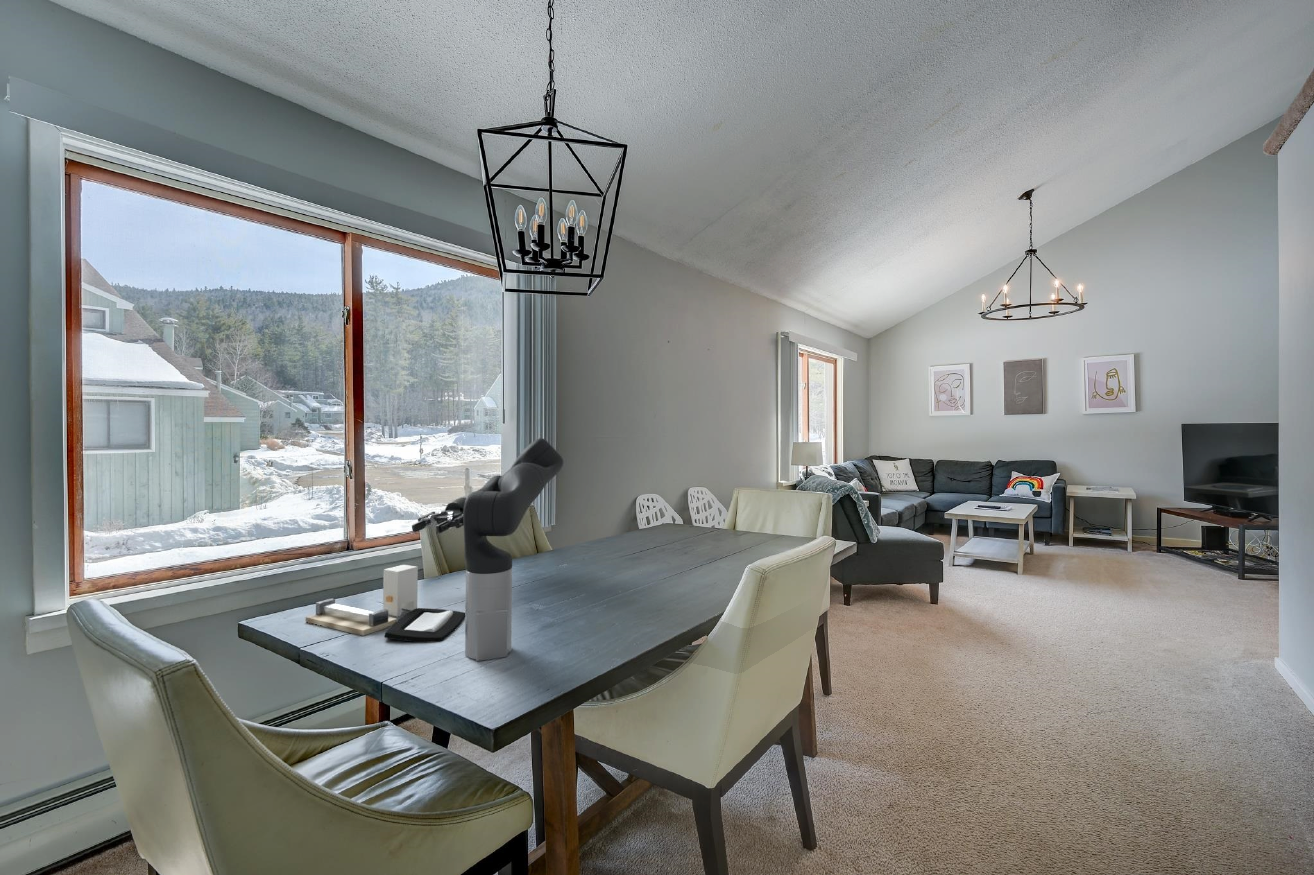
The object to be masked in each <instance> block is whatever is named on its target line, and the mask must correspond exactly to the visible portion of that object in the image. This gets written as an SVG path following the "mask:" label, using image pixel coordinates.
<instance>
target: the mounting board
mask: <svg viewBox="0 0 1314 875" xmlns="http://www.w3.org/2000/svg"><path fill="white" fill-rule="evenodd" d="M397 620H398V618H395V617H390V616H388V622H386V623H383V624H380V625H377V626H374V627H371V626H369V624H365V623H360V622H356V621H351V620H347V619H342V618H337V617H333V616H328V615H324V614H322V615H317V614H316V613H315V614H312V615H308V616H305V623H307V622H308V624H311V623H314V624H313V625H315V624H317V625H316V626H320V625H322V626H321V627H324V628H328V627H329V629H333V630H337V631H342V632H346V633H350V634H354V635H360V636H363V637H364V636H366V635H369V634H372V633H375V632H378V631H381V630H383V629H386V628H390V627H391V626H392V625H393V624H394V623H395V622H396V621H397Z"/></svg>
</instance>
